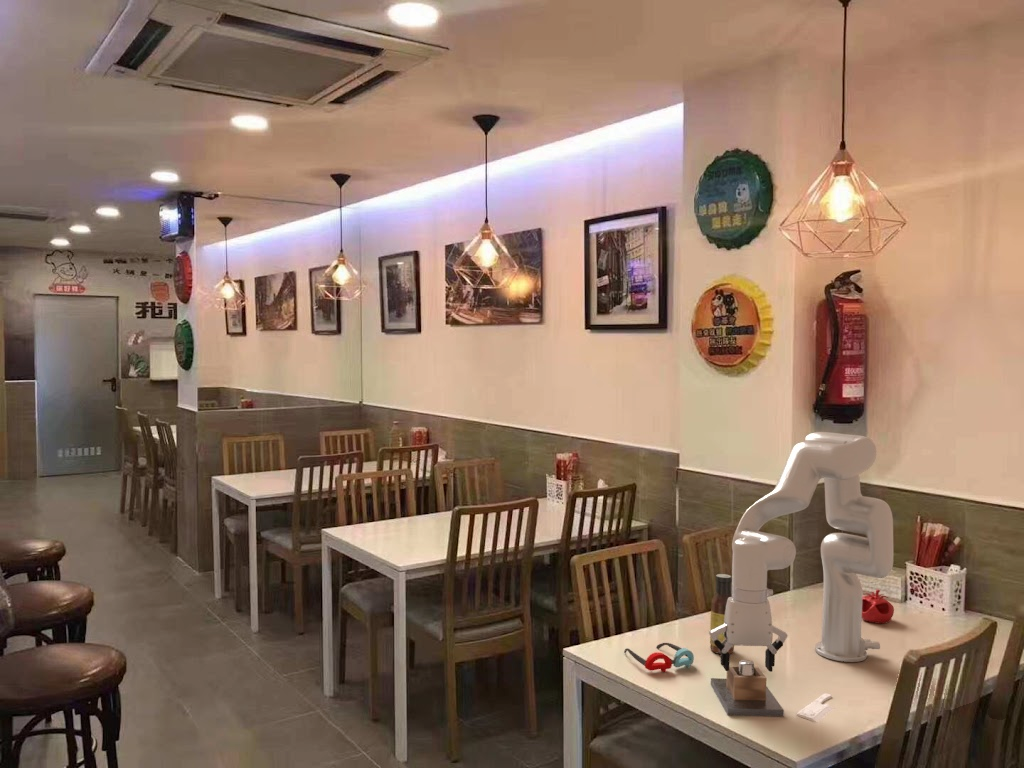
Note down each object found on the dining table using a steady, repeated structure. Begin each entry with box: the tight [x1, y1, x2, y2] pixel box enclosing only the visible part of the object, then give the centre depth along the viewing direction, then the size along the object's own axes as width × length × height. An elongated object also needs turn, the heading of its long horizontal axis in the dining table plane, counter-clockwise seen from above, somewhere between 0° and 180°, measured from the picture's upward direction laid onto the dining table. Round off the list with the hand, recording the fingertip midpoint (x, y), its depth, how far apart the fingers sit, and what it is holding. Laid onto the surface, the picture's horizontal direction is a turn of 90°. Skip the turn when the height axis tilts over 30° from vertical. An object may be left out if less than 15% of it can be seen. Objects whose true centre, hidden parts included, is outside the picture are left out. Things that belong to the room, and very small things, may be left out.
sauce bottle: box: [709, 573, 735, 655], centre depth 212 cm, size 6×6×20 cm
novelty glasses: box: [623, 642, 695, 673], centre depth 204 cm, size 14×15×5 cm
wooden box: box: [726, 664, 767, 700], centre depth 182 cm, size 7×7×5 cm
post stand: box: [710, 659, 785, 718], centre depth 182 cm, size 12×16×8 cm
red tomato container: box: [862, 589, 895, 624], centre depth 239 cm, size 10×10×9 cm
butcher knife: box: [796, 692, 836, 723], centre depth 178 cm, size 5×15×1 cm, turn 136°
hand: (747, 668), depth 182 cm, fingers open, 9 cm apart
